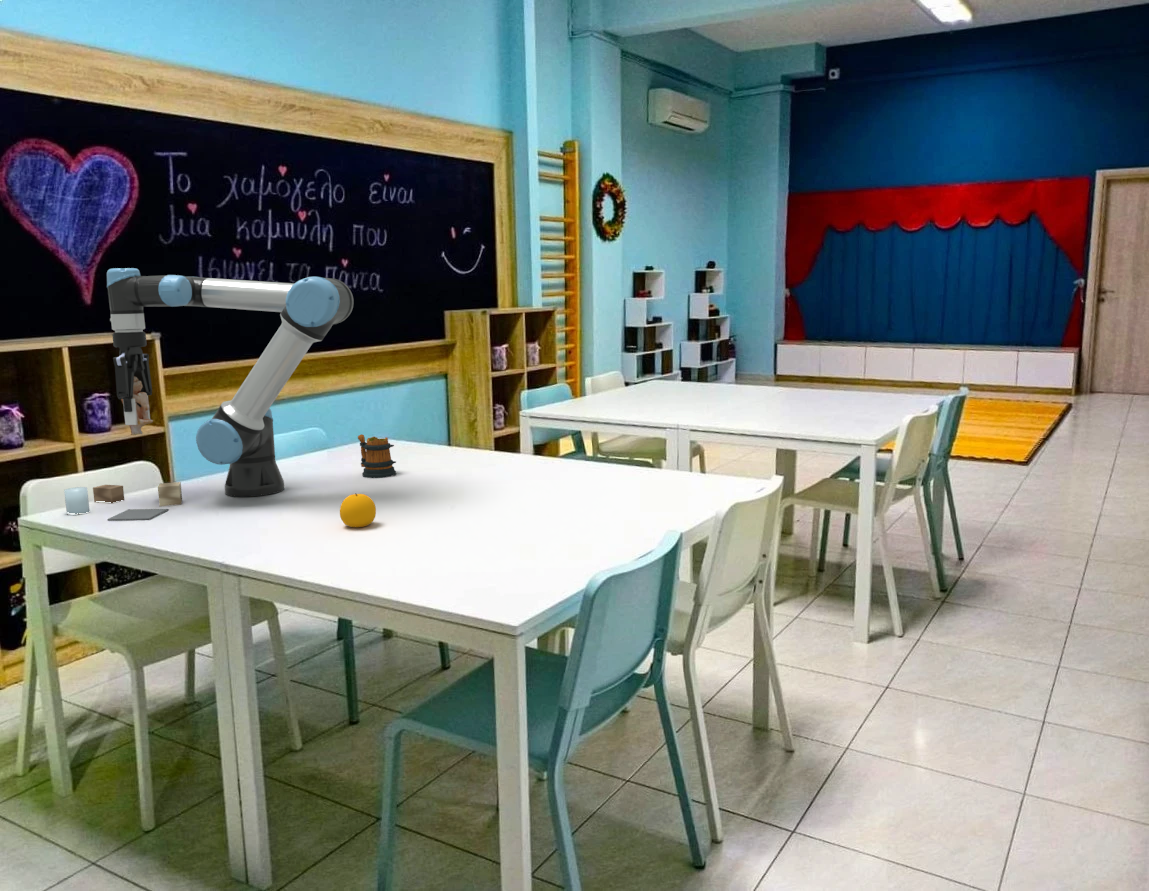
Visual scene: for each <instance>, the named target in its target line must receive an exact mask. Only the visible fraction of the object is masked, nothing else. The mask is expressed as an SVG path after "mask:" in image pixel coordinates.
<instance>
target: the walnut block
mask: <svg viewBox="0 0 1149 891" xmlns="http://www.w3.org/2000/svg"><path fill="white" fill-rule="evenodd" d="M92 493H93V501H94V503H97V502H96V501H105V502H111V503H110V504H114V503H113V502H116V501H119V502H122V501H121V500H123V501H125V491H124V485H120V484H119V485H117V484H101V485H98V486H94V487H92ZM116 503H117V502H116Z"/></svg>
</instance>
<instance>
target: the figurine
mask: <svg viewBox="0 0 1149 891" xmlns="http://www.w3.org/2000/svg"><path fill="white" fill-rule="evenodd" d="M142 387H143V386H142V382H141V381H139V380H138V378H137V377H135V376H134V384H133V398H132V399H135V403H136V413H137V423H138V424H137V425H128V426H129V428H130V436H138V435H143V431H142V428H143V427H144V426H146V425H149V424H152V423H153V422H154V420H153V419H151V418H150V419H149V418H148V412H147V410H149V411H150V402H149V396H148V397H147V393H145V392H140V391H141V389H142ZM120 401H121V403H122V404H123V399H120ZM148 402H149V403H148Z"/></svg>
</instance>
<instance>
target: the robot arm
mask: <svg viewBox="0 0 1149 891" xmlns="http://www.w3.org/2000/svg"><path fill="white" fill-rule="evenodd" d="M106 288H107V295H108V303H109V310H110V318H109V322H110V323H111V330H113V331H114V332H113V333H112V334H111V335H112V342H113V343H112V345H113V347H114V348H116V349H117V348H118V349H119V354H118V355H119V356H115V357H113V358H112V359H113V360H112V362H113V365H114V372H115V387H116V397H117V399H118V400H121V399H123V403H122V405H123V416H124V424H125V426H129V425H137V424H138V423H137V413H136V403H135V399H132V398H133V384H134V376H135V377H137V378H138V380H139V381H141V382H142V386H143V387H142V389H141V391H140V392H145V393H147V397H148V398H149V396H152V395H153V387H152V379H151V378H152V377H151V371H150V364H149V363H150V362H149V360H150V359H149V358H150V355H149V353H143V350H142V347H146V346H147V334H146V332H145V331H143V330H145V329H146V322H145V313H144V308H147V307H172V308H173V307H174V308H175V307H183V306H184V307H199V308H200V307H201V308H218V309H219V308H220V309H231V310H232V309H236V310H246V311H258V312H259V311H260V312H261V311H262V312H275V313H280V314H279V316H280V319H281V324H280V326H279V327H278V329H277V331H276V332H275V333H274V335H273V336H272V338H271V339H270V341H269V343H268V344H267V346H266V347H265V348H264V350H263V352H262V353H261V354H260V356H259V358H258V359H257V361H256V363H255V364H254V365H253V367H252V369H251V370H250V371H249V373H248V375H247V376H246V378H245V379H244V381H243V382H242V383H241V385H240V386H239V388H238V389H237V392H236V393H235V394H234V396H233V398H232V399H231V400H227V401H225V400H224V401H222V402H221V404H220V406H219V407H218V409H217V410H216V412H215V413H214V415H213V416H212V417H211V418H210V419H208V420H206V421H204V422H203V423H201V425H200V426H199V427H198V429H197V432H196V437H195V441H196V443H195V444H196V445H197V449H198V452H199V453H200V454H201V457H203V458H205V459H206V460H207V461H208V462H210V463H212V464H215V465H219V466H220V465H221V466H222V465H229V467H228V472H227V474H226V479H225V483H224V494H225V495H226V496H229V497H239V498H240V497H242V498H243V497H261V496H266V495H267V496H268V495H272V494H275V493H276V494H277V493H279V492H280V493H281V492H282V491H283V490H285V481H284V478H283V476H282V474H281V471H280V469H279V467H278V465H277V461H276V452H275V450H276V448H275V433H274V418H273V413H272V412H273V411H272V410H271V406H272V405H273V404H274V402H275V400H276V399H277V398H278V396H279V394H280V393H281V392H282V390H283V388H284V387H285V385H286V384H287V382H288V381H289V380H290V378H291V376H292V375H293V373H294V372H295V371H296V369H297V367H298V366H299V364H300V363H301V362H302V360H303V359H304V357H305V355H306V353H308V350H309V349H310V348H311V346H312V345H313V344H314V343H317V342H322V341H324V338H325V337H326V336H327V334H328V332H329V331H330V330H331V329H332V326H334V325H337V324H339V323H340V324H341V323H342V322H344V321H345V320H346V319H347V318H348V317H349V316H350V315H351V313H352V311H353V308H354V296H353V293H352V291H351V289H350V288H349V286H348V285H346V283H345V282H343V281H342V280H339V279H336V278H331V277H321V276H308V277H305V278H302V279H299V280H297V281H296V282H295V283H291V282H277V281H276V282H274V281H261V280H259V281H258V280H245V279H229V278H228V279H227V278H217V277H216V278H212V277H202V276H201V277H199V276H190V275H189V276H185V275H179V274H177V275H176V274H167V275H165V274H164V275H148V276H146V275H141V272H140V270H139V269H138V268H134V267H131V268H130V267H127V268H126V267H125V268H122V267H121V268H118V267H117V268H116V267H115V268H114V267H113V268H109V269H108V270H107V272H106ZM148 403H149V404H150V402H149V401H148ZM147 412H148V418H149V419H151V414H150V412H151V411H150V409H149V410H147Z"/></svg>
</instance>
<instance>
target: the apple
mask: <svg viewBox="0 0 1149 891" xmlns="http://www.w3.org/2000/svg"><path fill="white" fill-rule="evenodd" d="M376 514H377V508H376V504H375V502H374V501H373V499H372V498H371V497H370V496H368V495H366V494H363V493H357V492H356V493H353V494H349V495H348V496H346V497H345V498H344V499H343V500H342V502H341V504H340V508H339V516H340V519H341V522H343V524H344V525H346V526H348V527H350V528H363V527H367V526H369V525H370V524H372V523H373V522H374V521H375V519H376Z"/></svg>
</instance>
